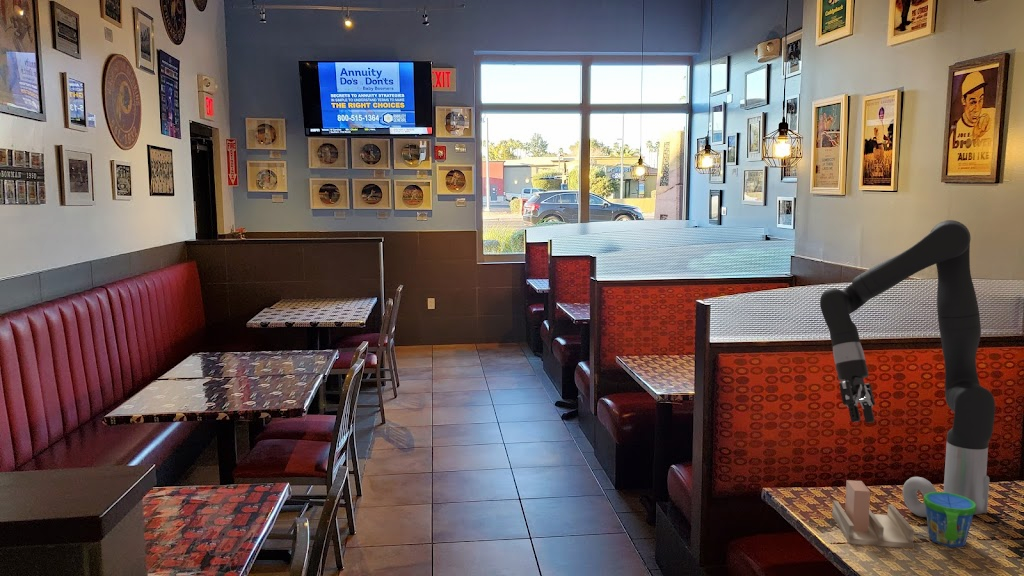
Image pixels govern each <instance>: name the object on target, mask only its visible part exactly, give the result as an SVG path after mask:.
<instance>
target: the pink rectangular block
mask: <svg viewBox="0 0 1024 576" xmlns="http://www.w3.org/2000/svg"><path fill="white" fill-rule="evenodd" d="M845 486H846V487H845V501H844V503H845V504H844V512H845V513H846V515H847V516H848V518H849V519H850V521H851V522H852V523H853V525H854V531H860V532H868V525H869V509H870V503H871V502H870V501H871V491H870V490H869V488H868V487H867V486H866V485H865V483H864V482H863V481H862V480H852V479H851V480H850V479H848V480H847V479H846V484H845Z"/></svg>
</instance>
